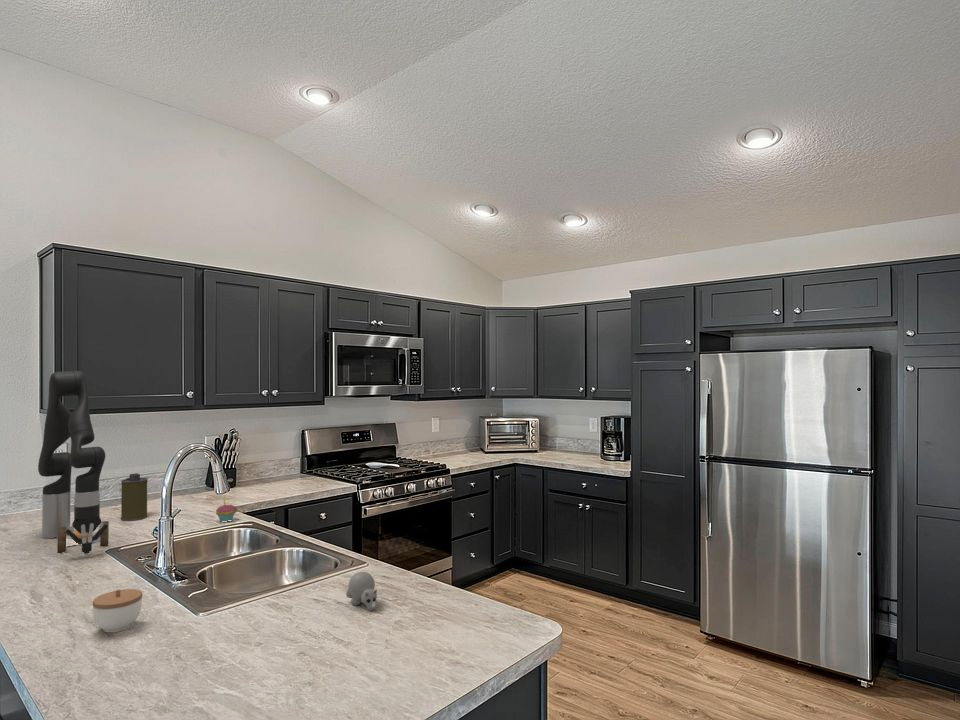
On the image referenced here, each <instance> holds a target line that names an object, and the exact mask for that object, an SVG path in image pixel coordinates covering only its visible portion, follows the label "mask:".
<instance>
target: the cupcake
mask: <svg viewBox="0 0 960 720" xmlns="http://www.w3.org/2000/svg"><path fill="white" fill-rule="evenodd" d="M222 498H223V504H222V505H221V506H219V507H217V508H216V511H215V514H216V515H217V517H218V519H219V521H228V520H232V521H233V519H234V516H235V513H237V512H238V508H237V507H236V506H234V505H232V504H226V496H225V494H224V495H222Z"/></svg>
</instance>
